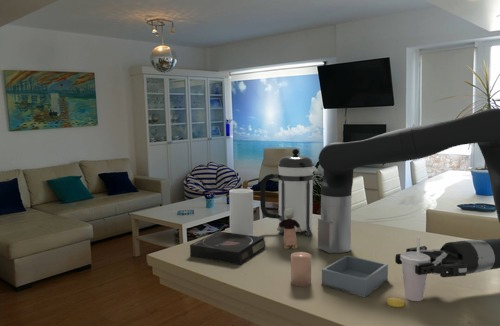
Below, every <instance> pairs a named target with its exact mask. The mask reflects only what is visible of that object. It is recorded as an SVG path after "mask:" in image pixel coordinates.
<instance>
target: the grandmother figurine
mask: <svg viewBox="0 0 500 326" xmlns="http://www.w3.org/2000/svg"><path fill="white" fill-rule="evenodd" d="M284 215H285V216H286V218H287V219H285V220H283V221H281V222H280V223H279V222H278V226H277V228H276V230H277V232H279V231H280V229H281V227H285V228H284V230H283V231H284V236H283V243H284V245H283V248H284V249H290V248H291V249H297V248H299V245H298V244H297V232H296V230H295V226H296V227H297V229H298V230H299V233H302V232H303V231H302V230H301V227H300V225H299V223H298V222H297V221H296V220H294V219H292V218H293V216H294V210H293V209H292V208H287V209H286V210H285V212H284Z"/></svg>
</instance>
